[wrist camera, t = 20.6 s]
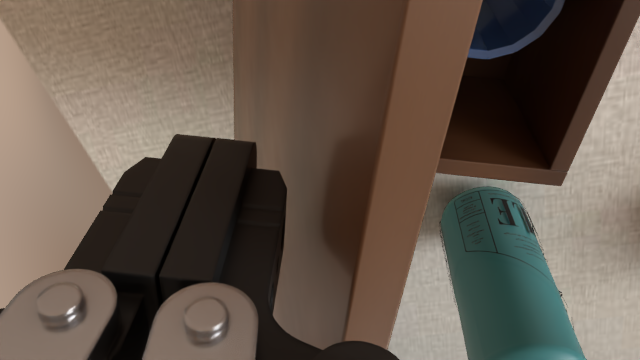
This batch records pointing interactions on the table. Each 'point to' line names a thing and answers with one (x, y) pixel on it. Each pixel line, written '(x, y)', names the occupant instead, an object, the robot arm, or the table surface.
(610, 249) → the table surface
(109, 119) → the table surface
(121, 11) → the table surface
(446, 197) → the table surface
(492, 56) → the cup
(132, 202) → the robot arm
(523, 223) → the beverage bottle
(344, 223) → the lid
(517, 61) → the chest
